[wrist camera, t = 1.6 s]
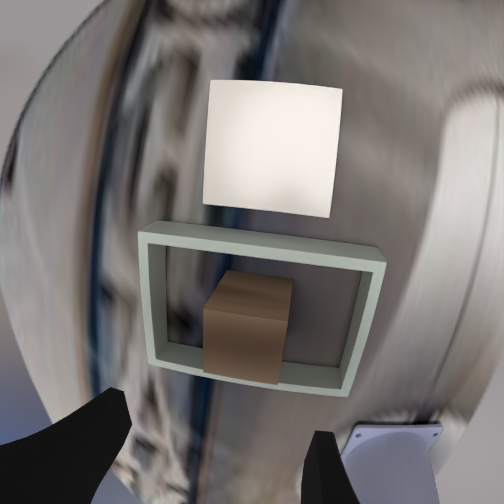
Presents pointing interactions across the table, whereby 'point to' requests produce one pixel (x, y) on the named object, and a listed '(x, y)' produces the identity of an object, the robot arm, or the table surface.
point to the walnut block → (246, 327)
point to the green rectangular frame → (259, 246)
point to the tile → (272, 146)
